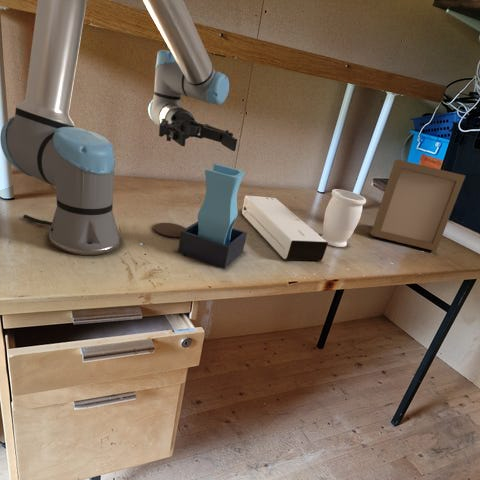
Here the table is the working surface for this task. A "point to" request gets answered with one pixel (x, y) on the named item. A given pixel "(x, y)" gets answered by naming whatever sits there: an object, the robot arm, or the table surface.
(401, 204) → the photo frame
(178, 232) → the coaster
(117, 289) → the table surface
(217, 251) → the bin
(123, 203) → the table surface
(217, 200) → the vase
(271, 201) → the laminator
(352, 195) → the jar
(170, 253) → the table surface
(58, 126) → the robot arm
